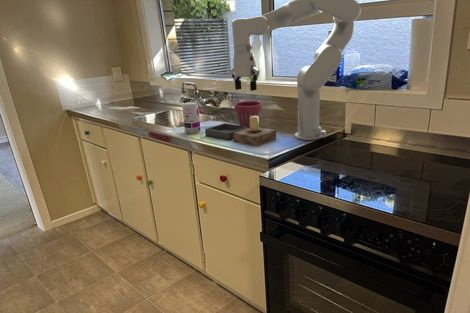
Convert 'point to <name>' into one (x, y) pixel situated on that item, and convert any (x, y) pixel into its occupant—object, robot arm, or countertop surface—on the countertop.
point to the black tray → (223, 131)
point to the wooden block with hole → (254, 136)
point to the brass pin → (254, 124)
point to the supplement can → (191, 117)
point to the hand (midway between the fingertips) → (245, 89)
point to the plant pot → (247, 111)
